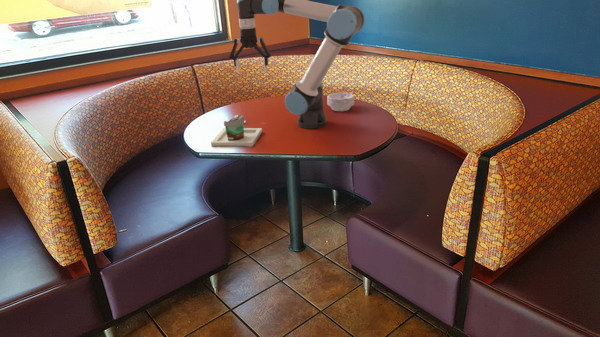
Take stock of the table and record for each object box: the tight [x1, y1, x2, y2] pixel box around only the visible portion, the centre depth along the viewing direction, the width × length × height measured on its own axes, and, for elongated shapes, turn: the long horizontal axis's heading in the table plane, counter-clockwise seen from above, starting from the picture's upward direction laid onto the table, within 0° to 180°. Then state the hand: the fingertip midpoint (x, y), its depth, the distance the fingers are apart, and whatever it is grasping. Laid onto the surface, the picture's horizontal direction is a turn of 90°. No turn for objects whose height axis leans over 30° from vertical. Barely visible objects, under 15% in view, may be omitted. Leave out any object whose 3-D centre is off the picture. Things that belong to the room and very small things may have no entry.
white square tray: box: [210, 127, 263, 148], centre depth 219 cm, size 20×20×2 cm
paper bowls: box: [326, 92, 355, 112], centre depth 254 cm, size 15×15×8 cm
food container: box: [223, 113, 246, 141], centre depth 217 cm, size 12×6×10 cm, turn 151°
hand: (251, 72), depth 222 cm, fingers open, 13 cm apart
